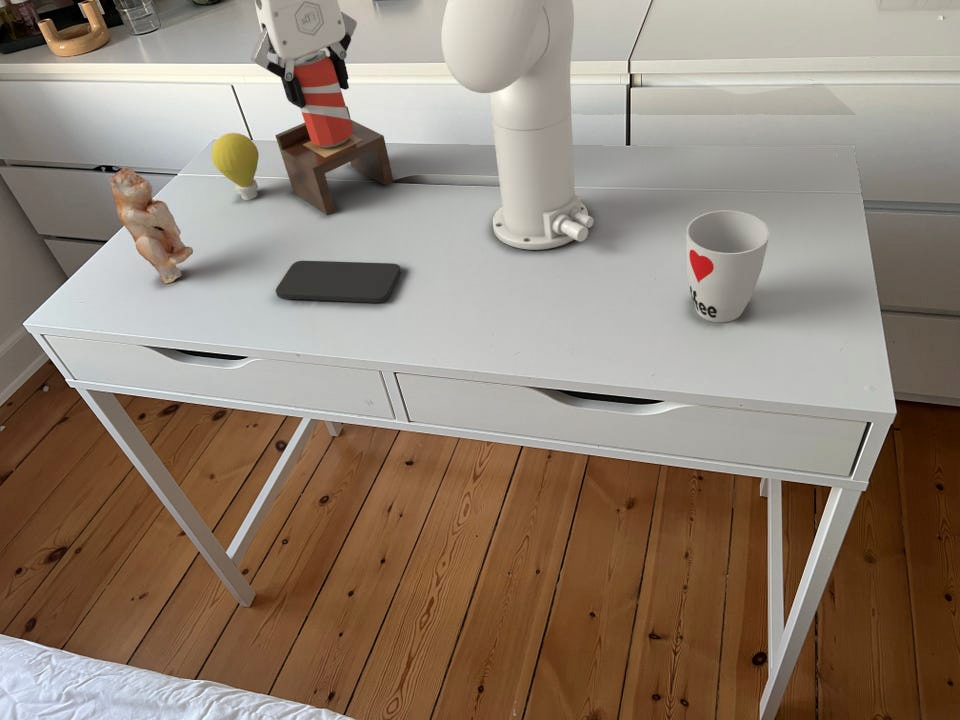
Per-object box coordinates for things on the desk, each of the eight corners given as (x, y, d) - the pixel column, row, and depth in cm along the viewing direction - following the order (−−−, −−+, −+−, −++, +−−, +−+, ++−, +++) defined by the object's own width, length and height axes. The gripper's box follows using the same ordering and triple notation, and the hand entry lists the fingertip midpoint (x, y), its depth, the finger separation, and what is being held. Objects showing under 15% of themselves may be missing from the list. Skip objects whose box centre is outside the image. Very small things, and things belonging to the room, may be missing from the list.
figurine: (189, 287, 102) (142, 186, 92) (139, 286, 104) (87, 187, 94) (210, 260, 106) (167, 161, 96) (161, 259, 108) (115, 162, 98)
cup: (673, 291, 88) (677, 216, 82) (743, 281, 88) (753, 205, 82) (693, 336, 82) (699, 259, 76) (769, 325, 82) (781, 247, 76)
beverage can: (362, 130, 112) (338, 47, 105) (339, 151, 108) (312, 66, 101) (328, 130, 115) (302, 48, 107) (304, 150, 111) (276, 67, 103)
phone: (384, 299, 93) (272, 294, 96) (386, 304, 93) (273, 299, 97) (402, 263, 98) (294, 259, 102) (403, 268, 99) (296, 264, 102)
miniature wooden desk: (394, 181, 116) (380, 122, 110) (326, 215, 111) (309, 155, 105) (358, 162, 123) (344, 105, 116) (293, 193, 118) (274, 135, 111)
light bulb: (280, 189, 119) (260, 128, 113) (249, 210, 115) (226, 149, 109) (250, 181, 122) (228, 122, 116) (219, 202, 118) (195, 142, 112)
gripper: (232, -19, 89) (278, 126, 101) (356, -60, 96) (386, 80, 108) (206, -29, 94) (253, 111, 106) (326, -67, 101) (357, 68, 113)
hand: (320, 94), depth 107 cm, fingers closed on beverage can, 6 cm apart
